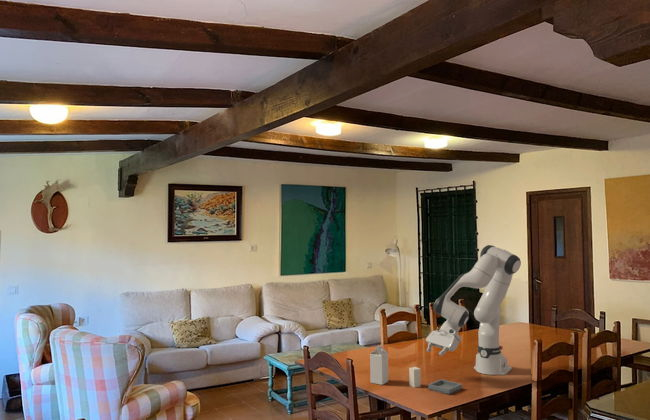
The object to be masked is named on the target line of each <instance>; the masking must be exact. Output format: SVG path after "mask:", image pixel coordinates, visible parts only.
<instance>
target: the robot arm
mask: <svg viewBox="0 0 650 420" xmlns="http://www.w3.org/2000/svg"><path fill="white" fill-rule="evenodd" d="M521 263H522V261H521V258H520V257H519V256H517V255H516V254H514V253H511V252H510V251H508V250H506V249H504V248H503V249H502V248H500V247H496V246H494V245H491V244H487V245H485V246H484V247H483V248H482V249H481V251H480V257H479V259H478V260H477V261H476V263H475V264H474V266H473V267H472V268H471V270H470V271H467V272H466V273H461V274H460V275H459V276H458V277H457V278H455V280H454V281H453V282H452V283H451V284H450V286H448V288H447V289H446V290H445V291H444V292H443V293H442V294H441V295H440V296H439V297H438V298H436V300H435V302H434V303H433V304H432V305H433V307H432V308H433V310H434V311H433V312H434V313H435V314H436V315H439V316H440V317H442V318H444V319H445V320H446V321H444V322H443V323H442V325H441V327H440V328H439V329H435V330H433V331H431V332H430V333H429V334H428V335H427V337H426V338H425V342H426V343H427V348H426V352H427V353H431V351H432V348H433V347H436V348H440V349H441V350H440V351H439V352H438V353H437V354H438V355H439V356H440V357H443V356H444V354H446V353H447V352H448V351H450V352H454V351H456V349H457V348H458V346H459V345H460V342H462V340H463V339H462V336H460V334H459V331H460V330H461V328H463V327H465V325H466V324H467V322H468V321H469V318H470V315H469V311H468V309H467V307H465V306H462V305H459V304H457V303H455V302H454V301H452V300H451V298H452V296H454V295H455V293H456V292H458V290H459V289H460V288H463V287H465V288H471V289H483V288H485V289H484V291H483V293H482V295H481V297H480V299H479V300H478V303H477V305H476V307H475V308H474V311H473V315H474V318H475V320H476V321H478V322H479V328H478V332H477V333H478V336H477V337H478V345H477V354H476V355H475V356H476V357H475V365H474V366H473V370H475V371H476V372H478V373H479V374H483V375H489V376H490V375H491V376H497V375H498V376H499V375H500V376H501V375H502V376H505V375H507V374H509V372H511V370H512V369H513V368H512V366H510V365H508V359H507V357H506V356H504V354H503V353H502V350H503V349H504V348H503V345H500V326H501V316H502V315H501V312H502V306H501V305H502V303H503V301H504V299H505V297H506V295H507V293H508V290H509V288H510V285H511V282H512V280H513V275H514V274H515V273H517V272H518V271H519V269H520V267H521Z"/></svg>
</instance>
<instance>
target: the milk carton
mask: <svg viewBox="0 0 650 420" xmlns="http://www.w3.org/2000/svg"><path fill="white" fill-rule="evenodd" d="M369 361H370V362H369V366H370V367H369V371H370V374H369V375H370V378H369V379H370V383H371V384H376V385H380V386H381V385H385V384H387V383H388V382H389V353H388V351H387V350H386V349H385V348H384V347H383V344H380V345H378V346H376V347H375V349H374V350H373V351H372V352H371V353H369Z"/></svg>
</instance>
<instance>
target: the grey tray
mask: <svg viewBox="0 0 650 420" xmlns="http://www.w3.org/2000/svg"><path fill="white" fill-rule="evenodd" d="M427 386H428V387H427V390H429V391H433V392H436V393H440V394H444V395H448V396H450V395H452V394H454V393H457V392H459V391H462V389H463V384H462V383H458V382H455V381H450V380H446V379H442V378H441V379H439V380H436V381H432V382H431V383H428V384H427Z"/></svg>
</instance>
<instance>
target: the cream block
mask: <svg viewBox="0 0 650 420" xmlns="http://www.w3.org/2000/svg"><path fill="white" fill-rule="evenodd" d="M408 370H409V371H408V373H409V374H408V375H409V376H408V379H409V382H408V384H409V387H411V388H421V368H419V367H417V366H412V367H409V368H408Z"/></svg>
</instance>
